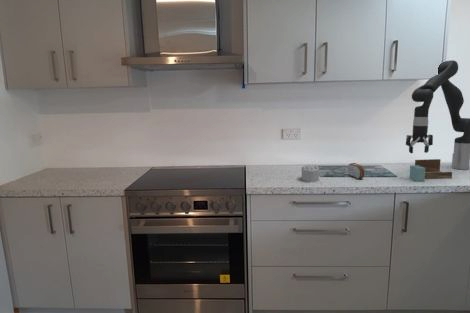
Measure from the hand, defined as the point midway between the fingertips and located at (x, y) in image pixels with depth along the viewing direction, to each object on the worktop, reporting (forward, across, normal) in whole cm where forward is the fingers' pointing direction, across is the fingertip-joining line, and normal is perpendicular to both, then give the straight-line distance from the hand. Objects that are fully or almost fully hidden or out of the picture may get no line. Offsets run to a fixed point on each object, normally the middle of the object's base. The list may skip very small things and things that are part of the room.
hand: (418, 152), depth 192 cm
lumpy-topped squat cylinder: (+17, +61, -8) cm, 64 cm away
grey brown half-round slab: (+17, +32, -11) cm, 38 cm away
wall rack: (+16, -14, -9) cm, 23 cm away
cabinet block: (+16, 0, 0) cm, 16 cm away
